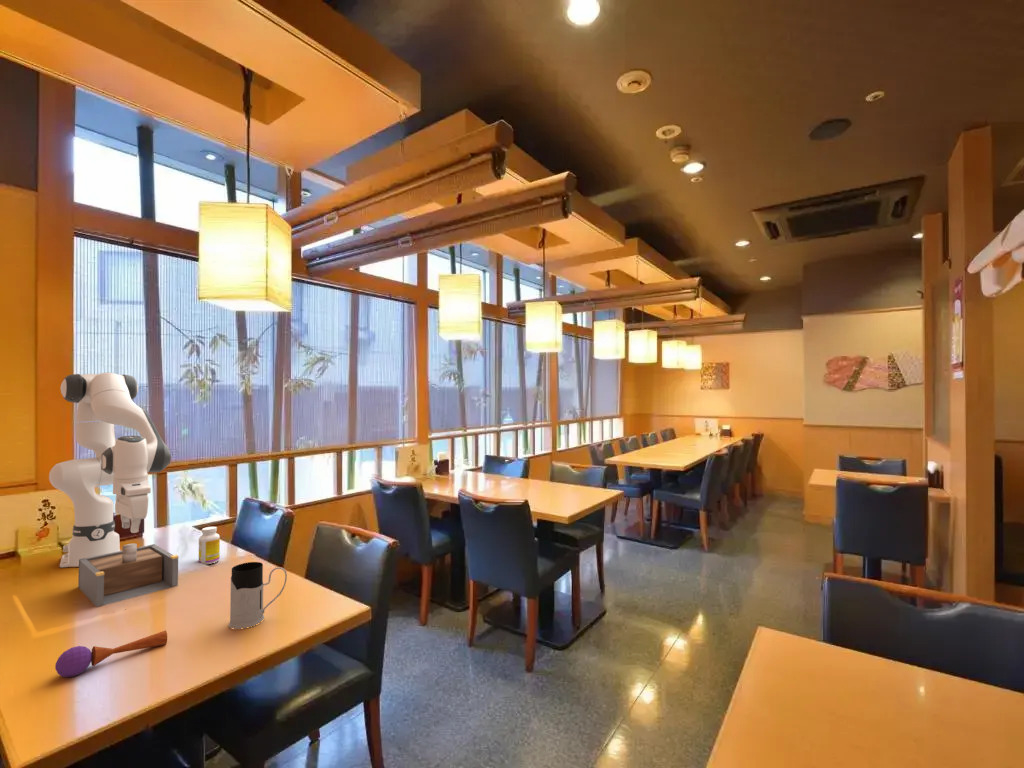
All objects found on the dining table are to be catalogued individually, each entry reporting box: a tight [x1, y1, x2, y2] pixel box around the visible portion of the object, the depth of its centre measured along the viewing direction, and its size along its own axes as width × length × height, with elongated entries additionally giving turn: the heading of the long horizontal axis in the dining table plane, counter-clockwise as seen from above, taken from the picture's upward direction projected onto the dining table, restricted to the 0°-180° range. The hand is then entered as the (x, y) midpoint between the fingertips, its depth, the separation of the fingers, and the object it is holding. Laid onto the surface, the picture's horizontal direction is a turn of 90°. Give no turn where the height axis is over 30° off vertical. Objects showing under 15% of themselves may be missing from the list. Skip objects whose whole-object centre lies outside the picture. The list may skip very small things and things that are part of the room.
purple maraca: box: [54, 630, 168, 678], centre depth 111 cm, size 6×6×20 cm
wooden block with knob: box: [89, 543, 162, 596], centre depth 155 cm, size 14×16×13 cm
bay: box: [77, 544, 179, 608], centre depth 153 cm, size 24×20×11 cm
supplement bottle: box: [198, 526, 221, 565], centre depth 178 cm, size 7×7×13 cm
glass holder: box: [227, 561, 288, 630], centre depth 131 cm, size 9×14×15 cm, turn 111°
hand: (130, 530), depth 153 cm, fingers open, 8 cm apart
